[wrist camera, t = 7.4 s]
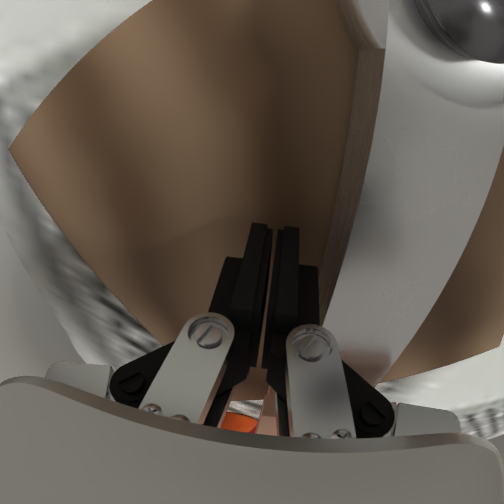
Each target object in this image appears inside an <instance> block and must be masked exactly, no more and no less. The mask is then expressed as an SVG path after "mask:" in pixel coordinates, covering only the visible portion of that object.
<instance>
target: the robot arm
mask: <svg viewBox="0 0 504 504" xmlns="http://www.w3.org/2000/svg"><path fill="white" fill-rule="evenodd" d="M272 237H273V229H272V228H268V224H263V223H253V222H252V225H251V228H250V232H249V236H248V240H247V244H246V248H245V252H244V256H243V258H237V257H228V256H227V257H226V258H225V261H224V264H223V267H222V270H221V273H220V276H219V279H218V282H217V285H216V288H215V291H214V295H213V298H212V301H211V304H210V307H209V310H208V312H207V313H201V314H198V315H195V316H194V317H192V318H191V319H189V320H188V321H187V323H186V324H185V325H184V327H183V329H182V330H181V332H180V334H179V336H178V337H177V339H176V340H175V341H173V342H171V343H169V344H167V345H165V346H163V347H161V348H159V349H157V350H155V351H152V352H150V353H148V354H146V355H144V356H142V357H140V358H138V359H136V360H134V361H131V362H129V363H127V364H125V365H123V366H121V367H120V368H118V369H113V368H112V367H111V366H107V365H94V364H82V363H72V362H57V363H55V364H53V365H52V366H51V367H50V368H49V369H48V371H47V373H46V375H45V378H43V377H36V376H19V377H13V378H9V379H7V380H5V381H3V382H2V383H1V384H0V504H504V467H503V463H502V459H501V456H500V454H499V452H498V450H497V449H496V447H495V446H494V445H493V444H491V443H490V442H488V441H487V440H485V439H483V438H480V437H477V436H474V435H469V434H464V433H460V431H461V428H460V422H459V419H458V417H457V416H456V415H455V414H454V413H453V412H450V411H448V410H442V409H435V408H428V407H422V406H416V405H410V404H405V403H399V404H398V405H396V404H391V403H390V402H389V401H388V400H387V399H386V398H385V397H384V396H383V395H382V394H381V393H379V392H378V391H377V390H376V389H375V388H374V387H372V386H371V385H370V384H369V383H368V382H367V381H366V380H364V379H363V378H362V377H361V376H360V375H359V374H358V373H356V372H355V371H354V370H353V369H352V368H351V367H350V366H349V365H347V364H346V363H345V362H344V361H343V360H342V359H341V356H340V352H339V347H338V343H337V341H336V338H335V337H334V335H333V334H332V333H331V332H330V331H329V330H327V329H326V328H324V327H321V326H320V312H319V283H318V267H317V266H310V265H301V264H299V227H291V226H284V230H281V229H278V231H277V239H276V247H275V255H274V263H273V271H272V279H271V287H270V294H269V302H268V309H267V318H266V327H265V337H264V346H263V355H262V364H261V368H262V369H267V376H266V382H267V383H268V384H269V385H270V386H271V387H272V388H273V390H274V391H275V408H276V426H277V436H273V435H264V434H255V433H247V432H240V431H234V430H227V429H221V428H220V427H221V425H222V422H223V420H224V417H225V415H226V412H227V409H228V407H229V404H230V402H231V399H232V397H233V394H234V391H235V388H236V385H237V384H239V383H241V382H242V381H244V380H246V379H247V375H249V370H250V367H255V368H256V365H257V359H258V353H259V346H260V339H261V333H262V326H263V319H264V312H265V305H266V298H267V291H268V282H269V271H270V260H271V249H272Z"/></svg>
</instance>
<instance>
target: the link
mask: <svg viewBox="0 0 504 504" xmlns="http://www.w3.org/2000/svg"><path fill="white" fill-rule="evenodd" d="M339 10H340V15H341V18H342V22H343V25H344V27H345V29H346V31H347V34H348V35H349V37H350V39H351V40H352V42H353V44H354V45H355V46H356V48H357V49H358V60H357V70H356V79H355V87H354V95H353V103H352V110H351V117H350V124H349V130H348V137H347V143H346V149H345V155H344V161H343V166H342V172H341V177H340V183H339V188H338V193H337V198H336V203H335V208H334V213H333V218H332V222H331V227H330V231H329V236H328V240H327V245H326V249H325V253H324V258H323V262H322V266H321V270H320V274H319V278H318V283H319V312H320V326H321V327H324V328H326V329H327V330H329V331H330V332H331V333H332V334H333V335H334V337H335V338H336V341H337V343H338V347H339V352H340V356H341V359H342V360H343V361H344V362H345V363H346V364H347V365H349V366H350V367H351V368H352V369H353V370H354V371H355V372H356V373H358V374H359V375H360V376H361V377H362V378H363V379H364V380H366V381H367V382H368V383H369V384H370V385H371V386H372V387H374V388H375V387H376V385H377V384H378V383H379V382H380V381H381V379H382V378H383V377H384V376H385V374H386V373H387V372H388V370H389V369H390V368H391V367H392V365H393V364H394V363H395V361H396V360H397V359H398V357H399V356H400V355H401V353H402V352H403V350H404V349H405V348H406V346H407V345H408V344H409V342H410V341H411V339H412V338H413V336H414V335H415V333H416V332H417V330H418V329H419V327H420V326H421V324H422V323H423V321H424V320H425V318H426V317H427V315H428V314H429V312H430V310H431V309H432V307H433V305H434V304H435V302H436V301H437V299H438V297H439V295H440V294H441V292H442V290H443V289H444V287H445V285H446V283H447V281H448V280H449V278H450V276H451V274H452V272H453V270H454V269H455V267H456V265H457V263H458V261H459V259H460V257H461V255H462V253H463V251H464V249H465V247H466V245H467V243H468V240H469V238H470V236H471V234H472V232H473V229H474V227H475V225H476V223H477V220H478V218H479V215H480V213H481V211H482V208H483V206H484V203H485V200H486V198H487V195H488V193H489V190H490V187H491V184H492V181H493V178H494V175H495V172H496V169H497V166H498V163H499V160H500V156H501V153H502V149H503V146H504V0H339Z"/></svg>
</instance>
